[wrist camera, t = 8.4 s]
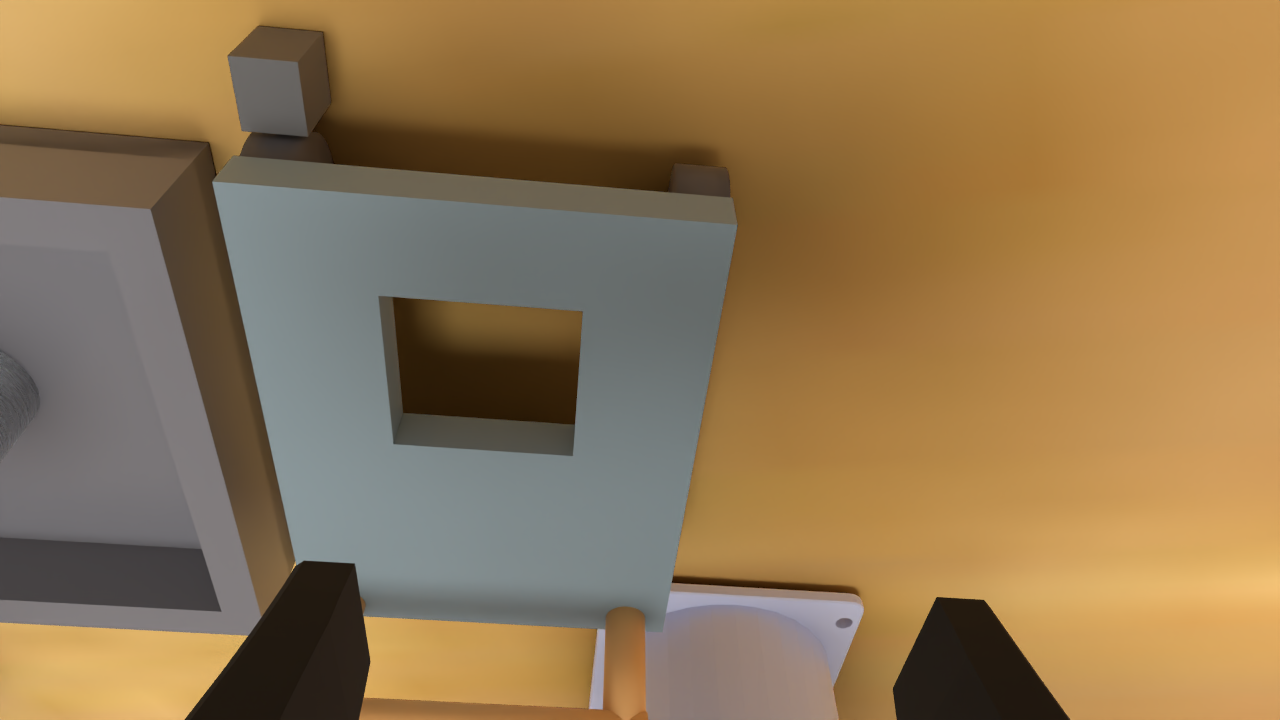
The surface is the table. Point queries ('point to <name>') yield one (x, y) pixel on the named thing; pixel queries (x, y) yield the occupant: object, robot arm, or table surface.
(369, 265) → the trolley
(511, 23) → the table surface
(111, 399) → the tray
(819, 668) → the robot arm
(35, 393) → the pin
